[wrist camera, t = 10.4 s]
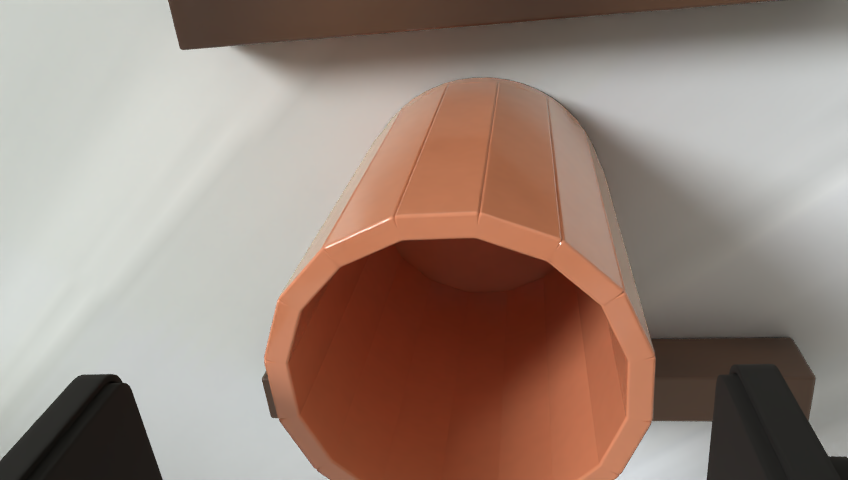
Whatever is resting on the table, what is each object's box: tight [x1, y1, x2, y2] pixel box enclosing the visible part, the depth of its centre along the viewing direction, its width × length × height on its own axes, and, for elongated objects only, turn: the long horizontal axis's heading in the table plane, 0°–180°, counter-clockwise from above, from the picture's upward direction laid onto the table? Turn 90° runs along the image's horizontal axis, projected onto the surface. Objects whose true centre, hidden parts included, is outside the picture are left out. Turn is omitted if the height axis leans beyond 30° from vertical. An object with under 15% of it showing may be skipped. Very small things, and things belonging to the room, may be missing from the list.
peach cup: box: [264, 78, 656, 480], centre depth 16 cm, size 7×7×9 cm
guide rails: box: [168, 0, 816, 421], centre depth 19 cm, size 16×13×2 cm
